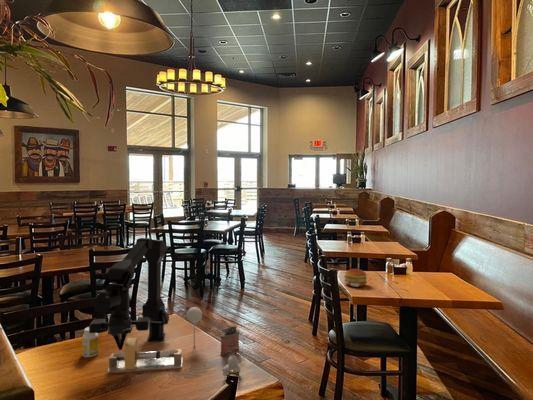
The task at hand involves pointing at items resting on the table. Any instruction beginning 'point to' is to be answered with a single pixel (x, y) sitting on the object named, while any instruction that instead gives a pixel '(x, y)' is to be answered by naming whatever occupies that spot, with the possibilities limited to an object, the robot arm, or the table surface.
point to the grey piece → (147, 361)
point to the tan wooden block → (130, 353)
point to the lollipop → (194, 317)
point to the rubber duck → (231, 365)
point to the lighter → (229, 341)
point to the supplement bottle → (89, 343)
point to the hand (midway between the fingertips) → (120, 349)
